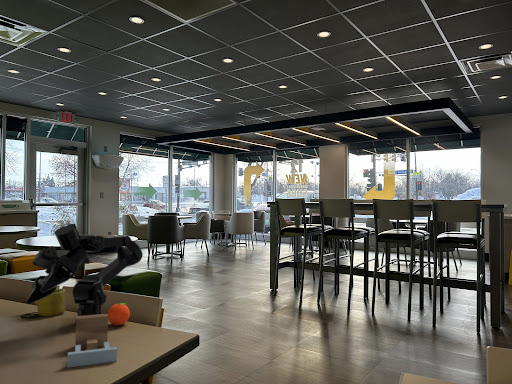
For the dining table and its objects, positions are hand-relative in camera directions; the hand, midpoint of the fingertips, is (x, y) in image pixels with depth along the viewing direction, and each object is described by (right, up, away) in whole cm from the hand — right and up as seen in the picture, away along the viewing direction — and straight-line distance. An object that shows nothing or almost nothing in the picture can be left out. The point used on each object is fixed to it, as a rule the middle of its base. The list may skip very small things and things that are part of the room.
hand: (34, 297), depth 109 cm
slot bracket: (+21, -12, -11) cm, 27 cm away
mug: (-14, -15, +32) cm, 38 cm away
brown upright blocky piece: (+18, -13, -4) cm, 22 cm away
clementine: (+17, -14, +19) cm, 30 cm away
